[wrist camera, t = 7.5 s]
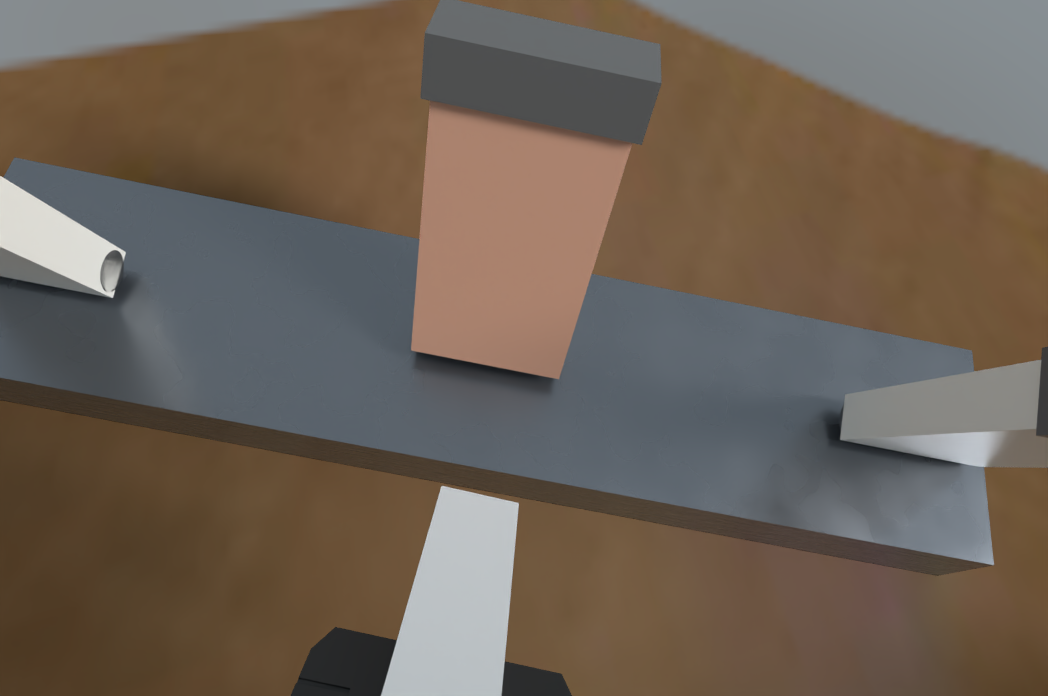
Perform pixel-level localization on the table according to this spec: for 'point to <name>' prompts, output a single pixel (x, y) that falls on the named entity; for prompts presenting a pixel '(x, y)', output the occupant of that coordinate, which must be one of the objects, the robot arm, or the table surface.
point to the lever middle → (520, 178)
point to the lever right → (959, 417)
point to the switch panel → (484, 381)
